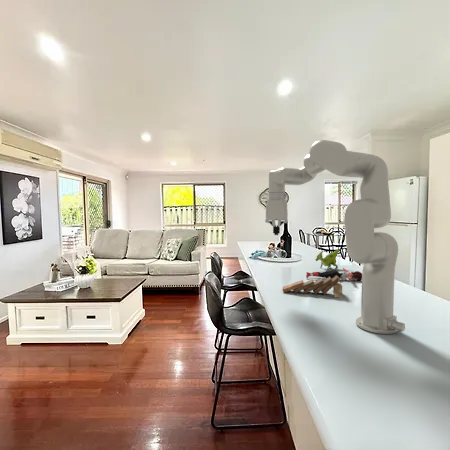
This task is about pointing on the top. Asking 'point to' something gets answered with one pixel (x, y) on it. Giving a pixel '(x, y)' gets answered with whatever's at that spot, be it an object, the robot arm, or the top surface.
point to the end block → (337, 290)
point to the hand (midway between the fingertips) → (276, 234)
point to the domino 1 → (293, 286)
